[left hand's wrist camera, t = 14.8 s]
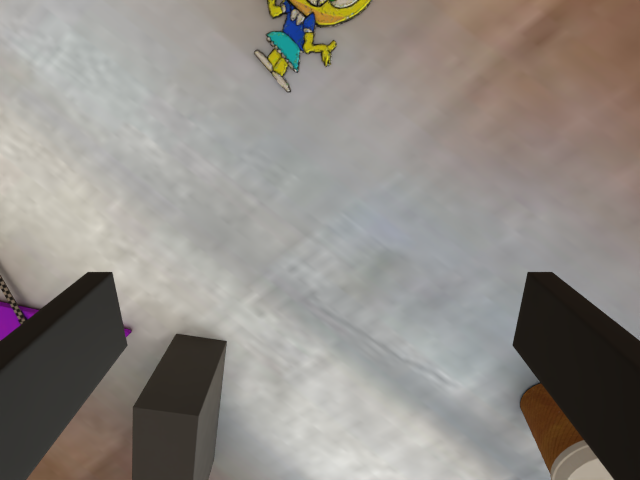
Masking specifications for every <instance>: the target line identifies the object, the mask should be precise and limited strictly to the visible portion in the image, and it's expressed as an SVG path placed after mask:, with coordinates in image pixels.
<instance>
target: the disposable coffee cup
mask: <svg viewBox="0 0 640 480" xmlns="http://www.w3.org/2000/svg"><path fill="white" fill-rule="evenodd" d="M520 407H521V410H522V412H523V415H524V417H525V419H526V421H527V423H528V426H529V428H530V430H531V432H532V435H533V437H534V439H535V441H536V444H537V446H538V448H539V450H540V452H541V455H542V457H543V459H544V461H545V464H546V466H547V468H548V470H549V472H550V474H551V475H550V476H551V480H614V479H613V478H612V476H611V475H610V474H609V472H608V471H607V470H606V469H605V467H604V466H603V465H602V463H601V462H600V461H599V459H598V458H597V457H596V455H595V454H594V453H593V451H592V450H591V449H590V447H589V446H588V445H587V443H586V442H585V441H584V439H583V438H582V437H581V435H580V434H579V433H578V431H577V430H576V429H575V427H574V426H573V425H572V423H571V422H570V421H569V419H568V418H567V417H566V416H565V414H564V413H563V412H562V410H561V409H560V408H559V406H558V405H557V404H556V402H555V401H554V400H553V398H552V397H551V396H550V394H549V393H548V392H547V390H546V389H545V388H544V386H543V385H542V384H538V385H535V386H533V387H532V388H530V389H529V390H528V391H526V393H525V394H524V395H523V397H522V399H521V402H520Z"/></svg>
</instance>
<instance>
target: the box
mask: <svg viewBox="0 0 640 480" xmlns="http://www.w3.org/2000/svg"><path fill="white" fill-rule="evenodd" d="M226 343H227V341H221V340H214V339H207V338H200V337H193V336H186V335H179V334H176V335H175V337H174V339H173V340H172V342H171V344H170V345H169V347H168V349H167V350H166V352H165V354H164V356H163V357H162V359H161V361H160V362H159V364H158V366H157V367H156V369H155V371H154V373H153V374H152V376H151V378H150V379H149V381H148V383H147V384H146V386H145V388H144V389H143V391H142V393H141V395H140V396H139V398H138V400H137V401H136V403H135V405H134V406H133V455H132V480H208V479H209V475H210V472H211V468H212V465H213V461H214V453H215V444H216V435H217V426H218V416H219V407H220V398H221V389H222V380H223V370H224V361H225V352H226Z"/></svg>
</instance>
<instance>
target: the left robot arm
mask: <svg viewBox="0 0 640 480" xmlns="http://www.w3.org/2000/svg"><path fill="white" fill-rule="evenodd" d="M126 347H127V341H126V336H125V331H124V326H123V322H122V317H121V312H120V307H119V302H118V297H117V293H116V288H115V283H114V278H113V273H112V272H88V273H86V274H85V275H84V276H82V277H81V278H80V279H79V280H77V281H76V282H75V283H73V284H72V285H71V286H70V287H68V288H67V289H66V290H65V291H63V292H62V293H61V294H59V295H58V296H57V297H56V298H54V299H53V300H52V301H51V302H49V303H48V304H47V305H45V306H44V307H43V308H42V309H40V310H39V311H38V312H36V313H35V314H34V315H33V316H31V317H30V318H29V319H28V320H26V321H25V322H24V323H22V324H21V325H20V326H19V327H17V328H16V329H15V330H14V331H12V332H11V333H10V334H8V335H7V336H6V337H5V338H3V339H2V340H1V341H0V480H26V479H27V478H28V476H29V475H30V474H31V472H32V471H33V470H34V469H35V467H36V466H37V465H38V463H39V462H40V461H41V459H42V458H43V457H44V455H45V454H46V453H47V451H48V450H49V449H50V447H51V446H52V445H53V443H54V442H55V441H56V439H57V438H58V437H59V435H60V434H61V433H62V431H63V430H64V429H65V427H66V426H67V425H68V423H69V422H70V421H71V419H72V418H73V417H74V416H75V414H76V413H77V412H78V410H79V409H80V408H81V406H82V405H83V404H84V402H85V401H86V400H87V398H88V397H89V396H90V394H91V393H92V392H93V390H94V389H95V388H96V386H97V385H98V384H99V382H100V381H101V380H102V378H103V377H104V376H105V374H106V373H107V372H108V370H109V369H110V368H111V366H112V365H113V364H114V363H115V361H116V360H117V359H118V357H119V356H120V355H121V353H122V352H123V351H124V349H125V348H126ZM513 347H514V348H515V349H516V351H517V352H518V353H519V355H520V356H521V357H522V359H523V360H524V361H525V363H526V364H527V365H528V366H529V368H530V369H531V370H532V372H533V373H534V374H535V376H536V377H537V378H538V380H539V381H540V382H541V384H542V385H543V386H544V388H545V389H546V390H547V392H548V393H549V394H550V396H551V397H552V398H553V400H554V401H555V402H556V404H557V405H558V406H559V408H560V409H561V410H562V412H563V413H564V414H565V416H566V417H567V418H568V419H569V421H570V422H571V423H572V425H573V426H574V427H575V429H576V430H577V431H578V433H579V434H580V435H581V437H582V438H583V439H584V441H585V442H586V443H587V445H588V446H589V447H590V449H591V450H592V451H593V453H594V454H595V455H596V457H597V458H598V459H599V461H600V462H601V463H602V465H603V466H604V467H605V469H606V470H607V471H608V472H609V474H610V475H611V476H612V478H613V479H614V480H640V341H639V340H638V339H637V338H635V337H634V336H633V335H632V334H630V333H629V332H628V331H626V330H625V329H624V328H623V327H621V326H620V325H619V324H618V323H616V322H615V321H614V320H612V319H611V318H610V317H609V316H607V315H606V314H605V313H604V312H602V311H601V310H600V309H598V308H597V307H596V306H595V305H593V304H592V303H591V302H589V301H588V300H587V299H586V298H584V297H583V296H582V295H581V294H579V293H578V292H577V291H575V290H574V289H573V288H572V287H570V286H569V285H568V284H567V283H565V282H564V281H563V280H561V279H560V278H559V277H558V276H556V275H555V274H554V273H552V272H528V273H527V278H526V283H525V288H524V293H523V297H522V302H521V307H520V312H519V317H518V322H517V326H516V331H515V336H514V341H513Z"/></svg>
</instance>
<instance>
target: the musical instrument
mask: <svg viewBox="0 0 640 480" xmlns="http://www.w3.org/2000/svg"><path fill="white" fill-rule="evenodd" d="M0 288H1V290H2V292H3V293H4V295H5V297H6V298H7V300H8V302H9V303H4V302H0V340H2V339H3V338H5V337H6V336H7V335H8V334H10V333H11V332H12V331H14V330H15V329H16V328H17V327H19V326H20V325H21V324H22V323H24V322H25V321H26V320H28V319H29V318H30V317H31V316H33V315H34V314H35V313H36V312H38V311H39V310H36V309H32V308H27V307H22V306H18V305H17V303H16V301H15V300H14V298H13V296H12V294H11V293H10V291H9V289H8V287H7V286H6V284H5V282H4V280H3V279H2V277H1V275H0ZM124 331H125V336H126V337H127V336H128V335H129V334H130V333H131V330H129V329H125V328H124Z"/></svg>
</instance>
